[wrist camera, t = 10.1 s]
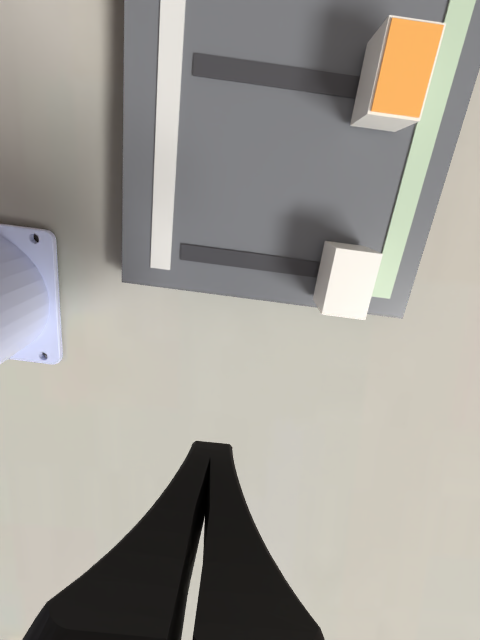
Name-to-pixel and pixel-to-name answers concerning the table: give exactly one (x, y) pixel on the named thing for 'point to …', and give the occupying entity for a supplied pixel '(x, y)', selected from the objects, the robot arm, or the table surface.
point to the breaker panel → (279, 144)
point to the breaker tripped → (397, 73)
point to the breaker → (346, 279)
